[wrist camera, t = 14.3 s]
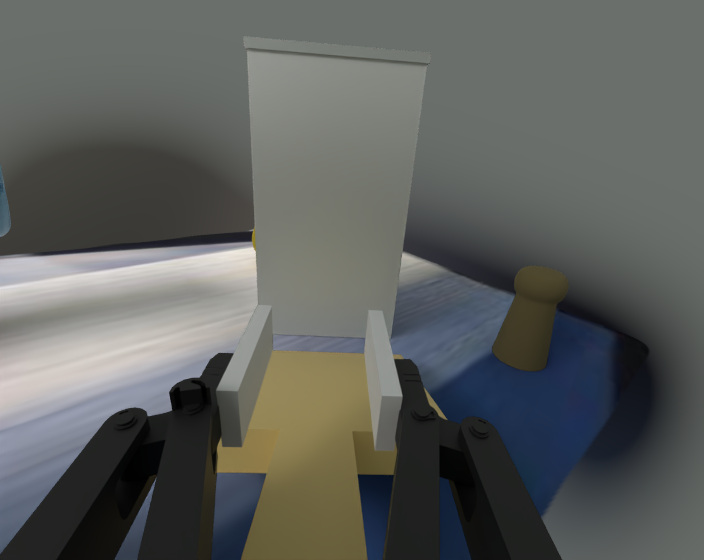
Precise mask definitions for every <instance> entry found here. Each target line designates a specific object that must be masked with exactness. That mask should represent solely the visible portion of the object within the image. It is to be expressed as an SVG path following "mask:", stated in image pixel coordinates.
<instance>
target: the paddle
mask: <svg viewBox="0 0 704 560" xmlns="http://www.w3.org/2000/svg"><path fill="white" fill-rule="evenodd" d="M393 358H394V359H403V357H402V356H401V355H393ZM424 389H425V388H424ZM425 392H426V395H427V398H428V402H429V405H430V406H432V407H433V408H434V409H435V410H436V411H437V413H438V415H439V416H440V417H442V418H443V419H446V420H447V418H446V417H445V416H444V414H443V413H442V411H441V410H440V409H439V407H438V406H437V405H436V403H435V402H434V400H433V399H432V398H431V396H430V395H429V393H428V392H427V391H426V389H425ZM217 452H218V463H217V473H267V475H266V478H265V481H264V484H263V488H262V491H261V494H260V498H259V501H258V504H257V508H256V511H255V514H254V518H253V521H252V524H251V527H250V531H249V534H248V537H247V541H246V544H245V547H244V551H243V554H242V557H241V560H368V559H367V551H366V543H365V534H364V526H363V517H362V509H361V500H360V492H359V484H358V475H357V474H373V475H394V468H395V462H396V456H397V447H396V442H395V448H394V451H376V450H375V447H374V438H373V429H372V419H371V410H370V401H369V392H368V382H367V373H366V364H365V355H364V354H362V353H333V352H304V351H275V350H273V351H272V354H271V357H270V360H269V363H268V367H267V370H266V373H265V376H264V379H263V383H262V386H261V389H260V392H259V395H258V399H257V402H256V405H255V408H254V411H253V415H252V418H251V421H250V424H249V427H248V430H247V434H246V437H245V440H244V443H243V446H242V447H222V441H221V438H220V441H219V443H218V446H217Z"/></svg>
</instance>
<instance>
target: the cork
mask: <svg viewBox="0 0 704 560" xmlns="http://www.w3.org/2000/svg"><path fill="white" fill-rule="evenodd" d="M514 288H515V291H516V296H515V298H514V300H513V302H512V304H511V307H510V309H509V311H508V313H507V316H506V318H505V320H504V322H503V324H502V327H501V329H500V331H499V333H498V335H497V338H496V340H495V342H494V344H493V346H492V352H493V353H494V355H495V356H496V357H497V358H498V359H499V360H500V361H502V362H504V363H505V364H507V365H509V366H511V367H514V368H516V369H520V370H525V371H540V370H542V369H544V368H545V367H546V364H547V359H548V353H549V347H550V341H551V335H552V329H553V323H554V317H555V311H556V305H557V303H559V302H560V301H562V300H563V299H564V297H565V296H566V293H567V290H568V280H567V278H566V277H565V276H564V275H563V274H562V273H560V272H558V271H556V270H553V269H550V268H546V267H540V266H527V267H524V268H522V269H521V270H520V271H519V272H518V273H517V275H516V277H515V280H514Z"/></svg>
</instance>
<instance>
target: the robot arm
mask: <svg viewBox="0 0 704 560" xmlns="http://www.w3.org/2000/svg"><path fill="white" fill-rule="evenodd" d="M10 225H11V224H10V213H9V208H8V202H7V197H6V192H5V188H4V182H3V176H2V170H1V165H0V237H1V236H3V235H5V234H6V233H7V232H8V231H9V229H10ZM272 351H273V327H272V306H269V305H257V307H256V309H255V311H254V313H253V315H252V317H251V319H250V321H249V323H248V326H247V328H246V330H245V332H244V334H243V336H242V338H241V340H240V342H239V344H238V346H237V348H236V350H235V352H234V353H218V354H217V355H215V356H214V357H213V358H212V359H210V361H209V363H208V364H207V366H206V369H205V370H204V371H203V373H202V375H201V376H200V378H189V379H185V380H183V381H181V382H178V383H177V384H176V385H174V386H173V387H172V388H171V390H170V392H169V394H170V400H171V406H172V411H170V412H167V413H163V414H158V415H153V416H147V412H146V411H145V410H143V409H141V408H128V409H125V410H122V411H119V412H117V413H115V414H114V415H112V416H111V417H109V418H108V419H107V420H106V421H105V422H104V424H103V425H102V426H101V427H100V429H99V430H98V431H97V433H96V434H95V435H94V436H93V438H92V439H91V440H90V441H89V443H88V444H87V445H86V446H85V448H84V449H83V450H82V452H81V453H80V454H79V455H78V457H77V458H76V459H75V460H74V462H73V463H72V464H71V465H70V467H69V468H68V469H67V471H66V472H65V473H64V474H63V476H62V477H61V478H60V479H59V481H58V482H57V483H56V484H55V486H54V487H53V488H52V490H51V491H50V492H49V493H48V495H47V496H46V497H45V498H44V500H43V501H42V502H41V503H40V505H39V506H38V507H37V509H36V510H35V511H34V512H33V514H32V515H31V516H30V517H29V519H28V520H27V521H26V522H25V524H24V525H23V526H22V528H21V529H20V530H19V531H18V533H17V534H16V535H15V536H14V538H13V539H12V540H11V541H10V543H9V544H8V545H7V547H6V548H5V549H4V550H3V552H2V553H1V554H0V560H114V559H115V557H116V555H117V553H118V551H119V549H120V547H121V545H122V543H123V541H124V539H125V537H126V535H127V533H128V531H129V530H130V528H131V526H132V524H133V522H134V520H135V518H136V516H137V514H138V512H139V510H140V508H141V506H142V504H143V502H144V500H145V498H146V496H147V494H148V492H149V491H150V489H151V487H152V485H153V483H154V481H155V479H156V482H155V487H154V491H153V495H152V499H151V503H150V508H149V512H148V516H147V520H146V525H145V529H144V533H143V537H142V542H141V546H140V550H139V554H138V559H137V560H211V554H212V539H213V524H214V508H215V493H216V478H217V463H218V452H217V446H218V443H219V441H220V438H221V441H222V447H242V446H243V443H244V440H245V437H246V434H247V430H248V427H249V424H250V421H251V418H252V415H253V411H254V408H255V405H256V402H257V399H258V395H259V392H260V389H261V386H262V383H263V379H264V376H265V373H266V370H267V367H268V363H269V360H270V357H271V354H272ZM364 355H365V364H366V373H367V382H368V392H369V401H370V410H371V419H372V429H373V438H374V447H375V450H376V451H394V448H395V442H396V447H397V456H396V462H395V468H394V477H393V485H392V492H391V500H390V507H389V515H388V522H387V530H386V537H385V545H384V552H383V560H440V511H439V477H442V478H445V479H448V480H449V483H450V487H451V490H452V494H453V497H454V501H455V504H456V508H457V511H458V515H459V518H460V521H461V525H462V528H463V532H464V535H465V539H466V542H467V546H468V549H469V552H470V556H471V559H472V560H562V559H561V557H560V555H559V553H558V551H557V549H556V547H555V545H554V543H553V541H552V539H551V537H550V535H549V533H548V531H547V529H546V527H545V525H544V523H543V521H542V519H541V517H540V515H539V513H538V511H537V509H536V507H535V505H534V503H533V501H532V499H531V497H530V495H529V493H528V491H527V489H526V487H525V485H524V483H523V481H522V479H521V477H520V475H519V473H518V471H517V469H516V467H515V465H514V463H513V461H512V459H511V457H510V455H509V453H508V451H507V449H506V447H505V445H504V443H503V441H502V439H501V437H500V435H499V433H498V431H497V430H496V429H495V427H494V426H493V425H492V424H491V423H489V422H488V421H486V420H484V419H482V418H479V417H467V418H465V419H463V420H462V423H461V424H459V423H456V422H452V421H449V420H446V419H443V418H442V417H440V416H439V415H438V413H437V411H436V410H435V409H434V408H433V407H432V406H430V405H429V402H428V398H427V395H426V392H425V389H424V386H423V383H422V380H421V377H420V374H419V371H418V368H417V366H416V365H415V364H414V363H413V362H412V361H411V360H410V359H394V358H393V354H392V349H391V345H390V341H389V337H388V332H387V328H386V324H385V320H384V315H383V311H379V310H368V319H367V329H366V340H365V350H364ZM156 477H157V478H156Z"/></svg>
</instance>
